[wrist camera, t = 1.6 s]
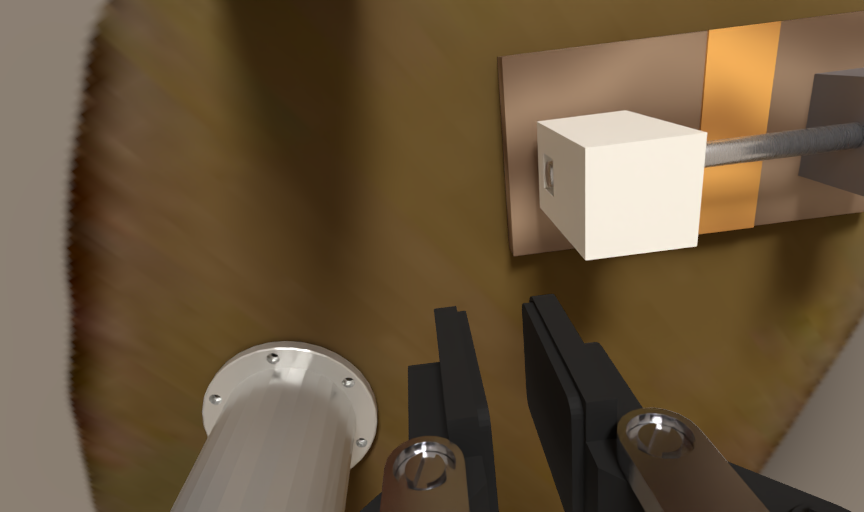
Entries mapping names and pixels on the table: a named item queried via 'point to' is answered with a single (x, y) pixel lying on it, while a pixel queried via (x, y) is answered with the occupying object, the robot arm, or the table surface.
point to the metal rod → (773, 145)
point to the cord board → (684, 113)
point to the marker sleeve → (622, 182)
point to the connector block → (831, 105)
